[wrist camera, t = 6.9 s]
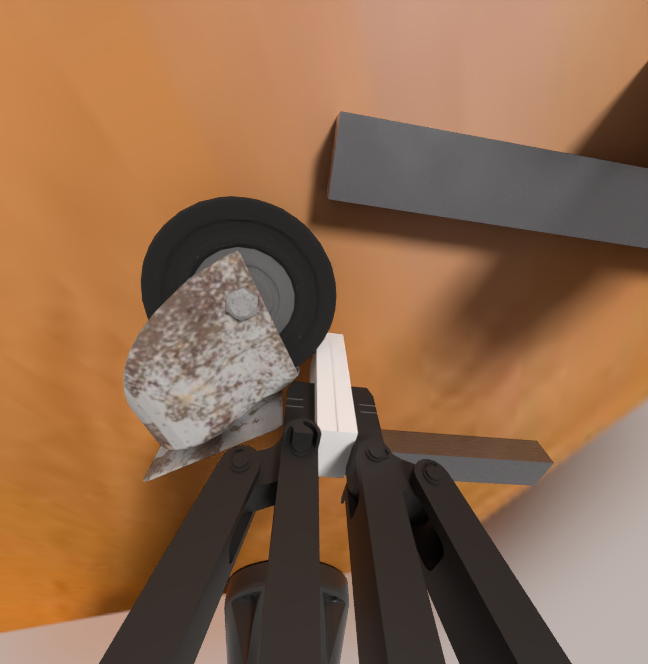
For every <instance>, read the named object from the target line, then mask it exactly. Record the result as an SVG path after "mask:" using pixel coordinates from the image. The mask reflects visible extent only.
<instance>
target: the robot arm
mask: <svg viewBox="0 0 648 664" xmlns="http://www.w3.org/2000/svg"><path fill="white" fill-rule="evenodd" d="M345 472H346V477H347V483H346V486H345V489H344V492H343V495H342V498H341V503H344V501H345V504H346V515H347V527H348V539H349V550H350V562H351V574H352V585H353V597H354V607H355V620H356V632H357V644H358V655H359V664H446V663H445V659H444V655H443V651H442V647H441V643H440V640H439V636H438V632H437V628H436V624H435V620H434V616H433V612H432V608H431V604H430V600H429V596H428V593H429V595H430V597H431V600H432V602H433V604H434V606H435V609H436V611H437V613H438V616H439V617H440V620H441V622H442V625H443V627H444V629H445V632H446V634H447V636H448V638H449V641H450V643H451V645H452V648H453V650H454V652H455V655H456V657H457V659H458V661H459V664H572V663H571V662H570V660H569V659H568V657H567V656H566V654H565V653H564V651H563V650H562V648H561V646H560V645H559V643H558V642H557V640H556V639H555V637H554V636H553V634H552V633H551V631H550V629H549V628H548V626H547V625H546V623H545V622H544V620H543V619H542V617H541V615H540V614H539V613H538V611H537V609H536V608H535V606H534V605H533V603H532V602H531V600H530V598H529V597H528V595H527V594H526V592H525V591H524V589H523V588H522V586H521V585H520V583H519V581H518V580H517V579H516V577H515V575H514V574H513V572H512V571H511V569H510V568H509V566H508V564H507V563H506V561H505V560H504V558H503V557H502V555H501V554H500V552H499V551H498V549H497V547H496V546H495V544H494V543H493V541H492V540H491V538H490V537H489V535H488V534H487V532H486V531H485V529H484V528H483V526H482V524H481V523H480V521H479V520H478V518H477V517H476V515H475V513H474V512H473V510H472V509H471V507H470V506H469V504H468V503H467V501H466V500H465V498H464V496H463V495H462V493H461V492H460V490H459V489H458V487H457V486H456V484H455V483H454V481H453V479H452V478H451V476H450V475H449V473H448V472H447V471H446V470H445V468H444V467H443V466H442V465H440V464H439V463H437V462H436V461H433V460H430V459H421V460H419V461H418V462H417V463H416V464H413V463H411V462H408V461H406V460H403V459H401V458H399V457H396V456H395V455H394V454H392V452H391V450H390V449H389V448H388V447H387V445H386V444H385V443H384V441H383V437H382V432H381V428H380V424H379V420H378V415H377V411H376V407H375V403H374V398H373V396H372V394H371V393H370V392H369V390H368V389H367V388H361V387H351V384H350V378H349V371H348V364H347V358H346V351H345V345H344V338H343V334H334V333H327V335H326V337H325V339H324V340H323V342H322V343H321V344H320V346H319V347H318V348H317V350H316V351H315V352H314V353H313V355H312V361H311V367H310V383H305V382H295V381H293V383H292V384H291V385H290V387H289V388H288V394H287V401H286V409H285V418H284V427H283V435H282V438H281V440H280V441H279V442H278V443H277V444H276V445H275V446H273V447H271V448H268V449H265V450H261V451H256V450H255V449H253V448H251V447H249V446H243V445H241V446H236V447H233V448H231V449H230V450H228V451H227V452H226V453H225V454H224V455H223V456H222V458H221V459H220V461H219V463H218V464H217V466H216V468H215V469H214V471H213V473H212V474H211V476H210V478H209V480H208V481H207V483H206V485H205V486H204V488H203V490H202V491H201V493H200V495H199V496H198V498H197V500H196V501H195V503H194V505H193V506H192V508H191V510H190V511H189V513H188V515H187V516H186V518H185V520H184V522H183V523H182V525H181V527H180V528H179V530H178V532H177V533H176V535H175V537H174V538H173V540H172V542H171V543H170V545H169V547H168V548H167V550H166V552H165V553H164V555H163V557H162V559H161V560H160V562H159V564H158V565H157V567H156V569H155V570H154V572H153V574H152V575H151V577H150V579H149V580H148V582H147V584H146V585H145V587H144V589H143V590H142V592H141V594H140V595H139V597H138V599H137V601H136V602H135V604H134V606H133V607H132V609H131V611H130V612H129V614H128V616H127V617H126V619H125V621H124V623H123V624H122V626H121V628H120V629H119V631H118V632H117V634H116V636H115V638H114V639H113V641H112V643H111V644H110V646H109V648H108V649H107V651H106V653H105V654H104V656H103V658H102V659H101V661H100V663H99V664H194V662H195V660H196V657H197V655H198V653H199V650H200V648H201V645H202V643H203V640H204V638H205V635H206V633H207V630H208V628H209V625H210V623H211V620H212V618H213V615H214V613H215V611H216V608H217V606H218V603H219V601H220V598H221V596H222V593H223V591H224V588H225V586H226V583H227V581H228V578H229V576H230V573H231V571H232V569H233V566H234V564H235V561H236V559H237V556H238V554H239V551H240V549H241V546H242V544H243V541H244V539H245V536H246V534H247V531H248V529H249V527H250V524H251V522H252V519H253V517H254V514H255V512H256V511H257V510H260V509H264V508H267V507H270V506H274V505H275V506H274V515H273V523H272V532H271V541H270V550H269V559H268V562H263V563H259V564H255V565H252V566H249V567H246V568H244V569H242V570H240V571H238V572H237V573H235V574H234V575H233V576H232V577H231V578H230V580H229V583H228V589H227V594H226V599H225V608H224V609H225V627H226V646H227V664H340V658H341V652H342V645H343V639H344V633H345V627H346V620H347V614H348V608H349V594H348V582H347V579H346V577H345V575H344V574H343V573H341V572H340V571H339V570H337V569H335V568H333V567H330V566H328V565H325V564H321V563H320V559H319V478H318V476H320V477H334V478H344V475H345ZM427 590H428V592H427Z"/></svg>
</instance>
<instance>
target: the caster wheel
mask: <svg viewBox="0 0 648 664" xmlns="http://www.w3.org/2000/svg"><path fill="white" fill-rule="evenodd" d="M141 290H142V301H143V304H144V308H145V311H146V314H147V317H148V321H147V323H146V324H145V326H144V327H143V328H142V330H141V331H140V333H139V334H138V336H137V338H136V340H135V342H134V344H133V346H132V348H131V350H130V353H129V356H128V358H127V361H126V366H125V371H124V392H125V396H126V399H127V402H128V404H129V406H130V408H131V409H132V410H133V411H134V413H135V414H136V415H137V416H138V418H139V419H140V420H141V421H142V423H143V424H144V425H145V426H146V428H147V429H148V430H149V431H150V433H151V434H152V435H153V437H154V438H155V439H156V440H157V442H158V443H159V444H160V445H161V446H160V448H159V450H158V452H157V454H156V456H155V458H154V460H153V462H152V464H151V466H150V468H149V470H148V472H147V473H146V475H145V477H144V479H143V481H150V480H152V479H154V478H157V477H159V476H162V475H164V474H167V473H169V472H172V471H174V470H177V469H179V468H182V467H184V466H187V465H189V464H191V463H194V462H196V461H199V460H201V459H204V458H206V457H209V456H211V455H214V454H216V453H219V452H221V451H224V450H226V449H229V448H231V447H233V446H236V445H238V444H241V443H243V442H246V441H248V440H251V439H253V438H256V437H258V436H261V435H263V434H266V433H268V432H271V431H273V430H275V429H277V428H278V427H280V426H281V425H282V424H283V405H282V389H284V388H285V387H287V386H288V385H289V384H290V383H291V382H292V381H293V380H294V379H295V378H296V377H297V376H298V375H299V372H300V367H299V365H301V364H302V363H303V362H304V361H305V360H307V359H308V358H309V357H310V356H311V355H312V354H313V353H314V352H315V351H316V350H317V348H318V347H319V346H320V344H321V343H322V342H323V340H324V339H325V337H326V335H327V333H328V331H329V329H330V326H331V324H332V321H333V317H334V313H335V306H336V283H335V278H334V274H333V269H332V266H331V263H330V261H329V259H328V257H327V255H326V253H325V251H324V249H323V247H322V245H321V244H320V242H319V241H318V240H317V238H316V237H315V236H314V235H313V233H312V232H311V231H310V230H309V228H307V227H306V226H305V225H304V224H303V223H302V222H300V221H299V220H298V219H297V218H295V217H294V216H292V215H291V214H289V213H288V212H286V211H285V210H283V209H282V208H279V207H277V206H274V205H272V204H269V203H266V202H263V201H260V200H257V199H251V198H245V197H233V196H229V197H218V198H214V199H210V200H205V201H201V202H198V203H196V204H194V205H192V206H190V207H188V208H186V209H184V210H182V211H180V212H179V213H178V214H176V215H175V216H174V217H173V218H172V219H170V220H169V221H168V222H167V223H166V224H165V225H164V226H163V227H162V228H161V229H160V231H159V232H158V233H157V234H156V235H155V237H154V239H153V240H152V242H151V244H150V246H149V248H148V251H147V253H146V256H145V258H144V262H143V267H142V275H141Z"/></svg>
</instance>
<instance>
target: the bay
mask: <svg viewBox="0 0 648 664" xmlns="http://www.w3.org/2000/svg"><path fill="white" fill-rule="evenodd" d="M326 194H327V197H328V199H330V200H336V201H343V202H349V203H356V204H362V205H369V206H375V207H382V208H388V209H395V210H401V211H408V212H414V213H421V214H427V215H434V216H440V217H447V218H453V219H460V220H466V221H473V222H479V223H486V224H492V225H499V226H505V227H512V228H518V229H525V230H531V231H538V232H544V233H551V234H557V235H564V236H570V237H577V238H583V239H590V240H596V241H603V242H609V243H616V244H622V245H629V246H635V247H642V248H648V168H644V167H638V166H633V165H627V164H622V163H617V162H611V161H606V160H600V159H595V158H590V157H584V156H579V155H573V154H568V153H563V152H557V151H552V150H547V149H541V148H536V147H530V146H525V145H520V144H514V143H509V142H503V141H498V140H493V139H487V138H482V137H476V136H471V135H466V134H460V133H455V132H449V131H444V130H439V129H433V128H428V127H423V126H417V125H412V124H406V123H401V122H396V121H390V120H385V119H379V118H374V117H369V116H363V115H358V114H352V113H347V112H342V111H341V112H340V113H339V114H338V116H337V119H336V126H335V134H334V141H333V148H332V156H331V163H330V170H329V178H328V185H327V193H326ZM381 432H382V437H383V441H384V443H385V444H386V445H387V447H388V448H389V449H390V450H391V452H392V454H394V455H395V456H396V457H399V458H401V459H403V460H406V461H408V462H411V463H413V464H416V463H417V462H418V461H419V460H421V459H430V460H433V461H436V462H437V463H439V464H440V465H442V466H443V467H444V468H445V470H446V471H447V472H448V473H449V475H450V476H451V478H452V479H453V481H462V482H479V483H497V484H515V485H532V486H534V485H535V484H536V483H537V482H538V481H539V479H540V478H541V477H542V476H543V475H544V474H545V473H546V472H547V470H548V469H549V468H550V467H551V466H552V465H553V464H554V462H553V461H552V460H551V459H550V457H549V456H548V455H547V453H546V452H545V451H544V449H543V448H542V447H541V446H540V444H539V443H538V442H537V441H527V440H514V439H500V438H487V437H473V436H460V435H446V434H433V433H419V432H406V431H392V430H381ZM345 475H346V472H345Z"/></svg>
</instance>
